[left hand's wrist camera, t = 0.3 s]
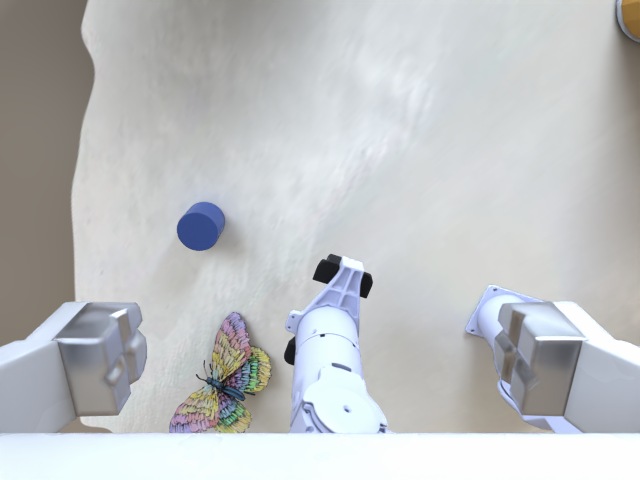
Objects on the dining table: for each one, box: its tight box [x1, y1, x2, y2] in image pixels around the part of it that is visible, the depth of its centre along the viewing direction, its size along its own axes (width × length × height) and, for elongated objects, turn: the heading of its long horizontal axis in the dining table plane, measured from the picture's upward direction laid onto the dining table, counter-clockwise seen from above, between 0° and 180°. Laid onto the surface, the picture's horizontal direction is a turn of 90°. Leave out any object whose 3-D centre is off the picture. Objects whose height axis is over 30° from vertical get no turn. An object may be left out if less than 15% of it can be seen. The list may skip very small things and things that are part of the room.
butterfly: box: [169, 312, 272, 433], centre depth 62 cm, size 17×10×10 cm
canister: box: [177, 202, 225, 251], centre depth 57 cm, size 5×5×4 cm
